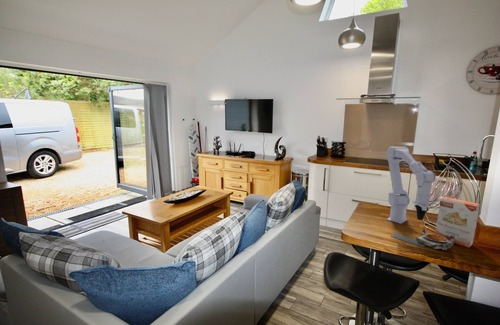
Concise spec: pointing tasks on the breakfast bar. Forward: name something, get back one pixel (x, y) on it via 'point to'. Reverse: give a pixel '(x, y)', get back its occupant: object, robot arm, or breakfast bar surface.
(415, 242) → the gray flat rectangular plate
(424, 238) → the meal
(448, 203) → the cracker box
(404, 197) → the robot arm
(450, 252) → the breakfast bar surface
